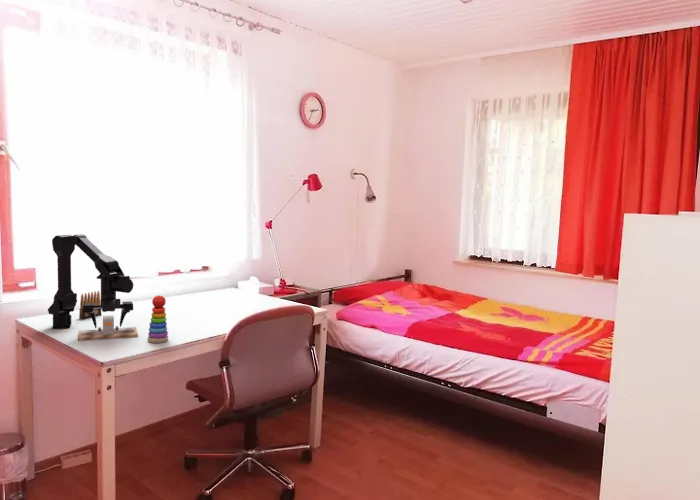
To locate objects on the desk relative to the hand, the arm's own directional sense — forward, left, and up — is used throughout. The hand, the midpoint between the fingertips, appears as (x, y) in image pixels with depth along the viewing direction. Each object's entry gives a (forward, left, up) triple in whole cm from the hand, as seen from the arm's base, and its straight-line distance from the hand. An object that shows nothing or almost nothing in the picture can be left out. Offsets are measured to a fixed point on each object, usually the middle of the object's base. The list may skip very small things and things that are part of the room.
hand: (108, 327), depth 214 cm
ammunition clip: (-7, +33, -4) cm, 34 cm away
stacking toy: (+18, -14, -3) cm, 23 cm away
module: (0, 0, -2) cm, 2 cm away
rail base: (0, 0, -3) cm, 3 cm away
